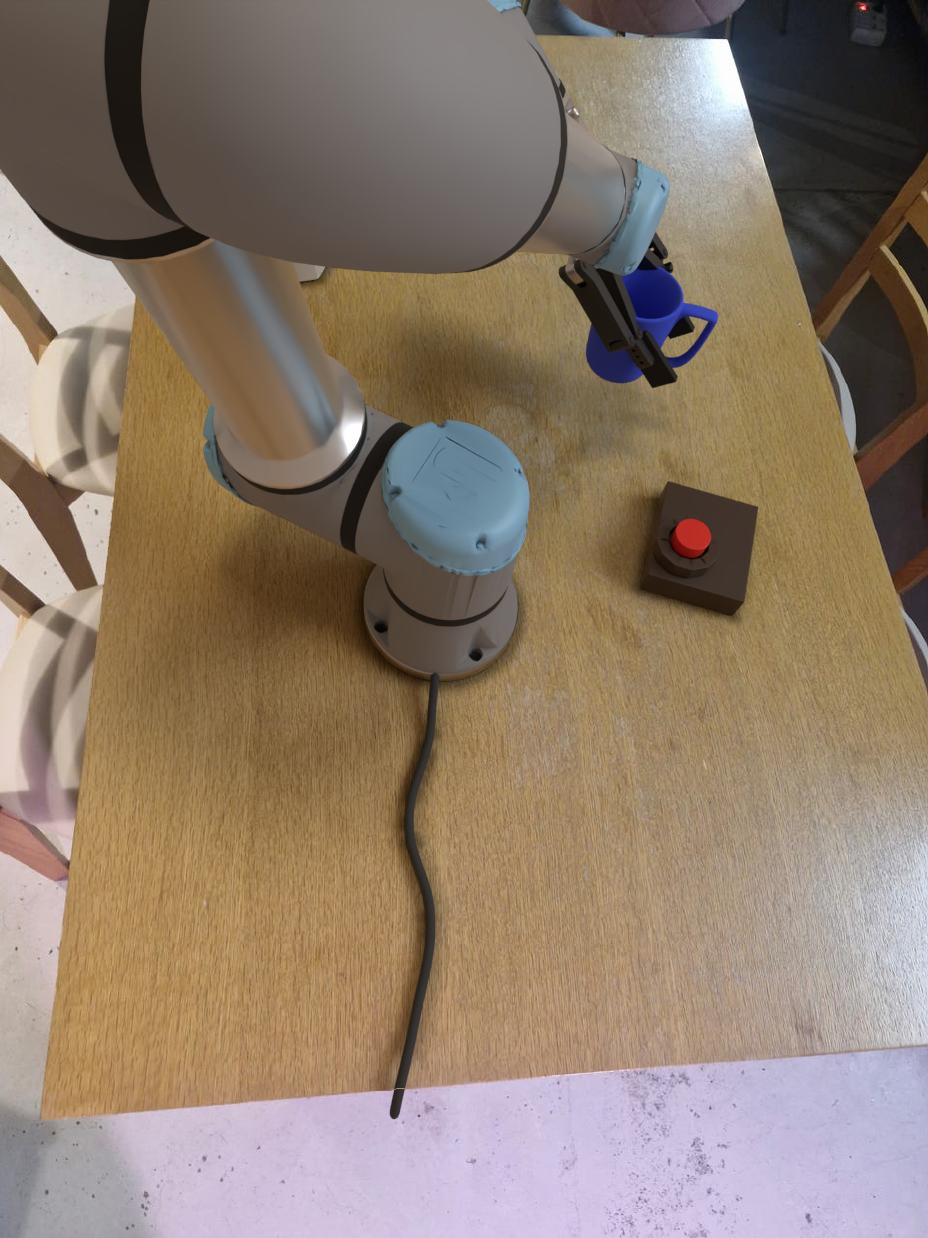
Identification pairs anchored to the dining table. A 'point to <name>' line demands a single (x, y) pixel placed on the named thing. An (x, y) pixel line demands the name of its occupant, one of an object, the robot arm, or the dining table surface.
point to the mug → (649, 324)
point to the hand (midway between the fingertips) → (673, 357)
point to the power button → (690, 538)
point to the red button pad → (719, 567)
